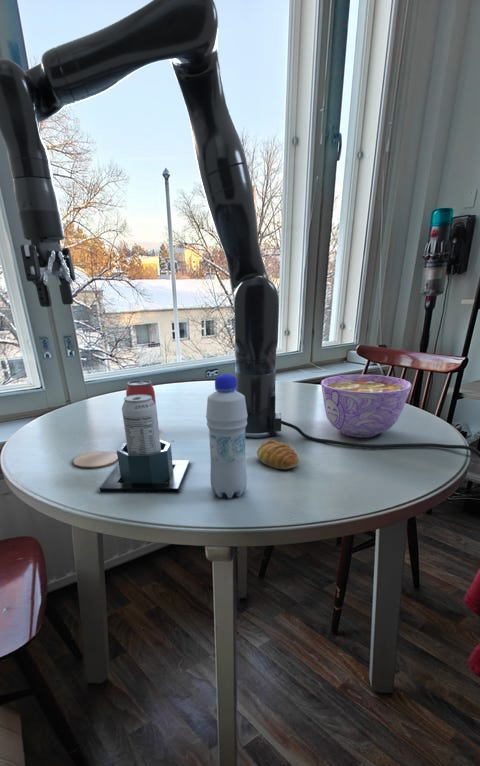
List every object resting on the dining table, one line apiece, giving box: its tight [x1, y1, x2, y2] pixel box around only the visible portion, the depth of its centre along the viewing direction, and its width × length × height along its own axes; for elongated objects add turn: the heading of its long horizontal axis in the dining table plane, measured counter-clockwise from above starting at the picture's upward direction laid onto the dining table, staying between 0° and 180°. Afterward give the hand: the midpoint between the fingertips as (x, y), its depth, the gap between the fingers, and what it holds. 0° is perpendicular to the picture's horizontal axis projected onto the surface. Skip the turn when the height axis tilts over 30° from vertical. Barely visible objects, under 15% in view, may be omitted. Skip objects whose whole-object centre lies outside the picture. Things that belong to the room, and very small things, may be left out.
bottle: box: [205, 373, 248, 499], centre depth 75 cm, size 7×7×20 cm
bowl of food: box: [320, 374, 413, 438], centre depth 106 cm, size 20×20×12 cm
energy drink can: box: [121, 394, 161, 454], centre depth 83 cm, size 6×6×15 cm
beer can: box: [125, 379, 157, 406], centre depth 109 cm, size 7×7×12 cm
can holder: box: [99, 439, 190, 494], centre depth 85 cm, size 14×14×6 cm
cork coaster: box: [73, 451, 118, 469], centre depth 95 cm, size 9×9×1 cm
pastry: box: [256, 439, 300, 470], centre depth 91 cm, size 9×7×4 cm
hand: (57, 305), depth 94 cm, fingers open, 8 cm apart
